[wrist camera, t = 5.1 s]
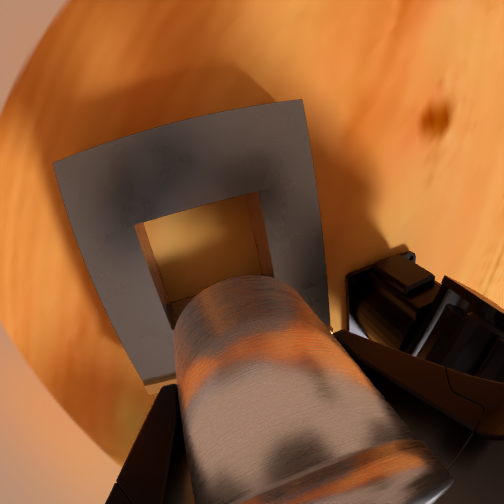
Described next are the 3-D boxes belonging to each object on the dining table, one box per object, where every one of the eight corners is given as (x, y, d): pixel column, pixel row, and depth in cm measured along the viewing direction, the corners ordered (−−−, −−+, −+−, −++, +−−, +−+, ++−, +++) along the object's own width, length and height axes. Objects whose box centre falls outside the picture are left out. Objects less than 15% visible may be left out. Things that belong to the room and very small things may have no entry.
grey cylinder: (315, 365, 11) (418, 519, 4) (196, 402, 10) (243, 587, 4) (303, 255, 9) (491, 434, 3) (150, 298, 8) (163, 572, 2)
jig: (311, 311, 22) (333, 337, 19) (148, 361, 20) (148, 394, 17) (280, 104, 16) (304, 98, 13) (71, 158, 14) (50, 163, 11)
